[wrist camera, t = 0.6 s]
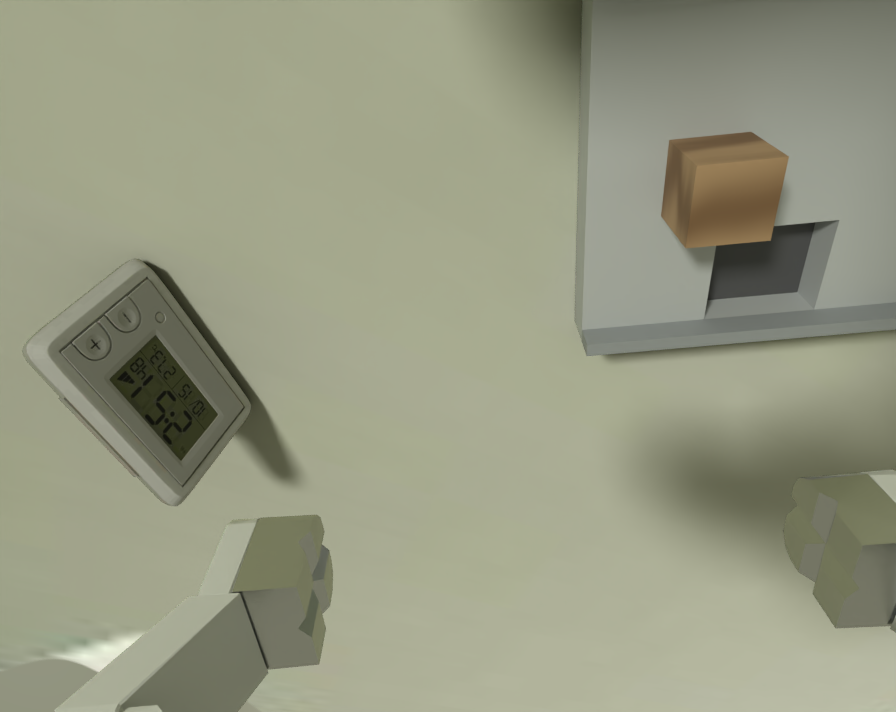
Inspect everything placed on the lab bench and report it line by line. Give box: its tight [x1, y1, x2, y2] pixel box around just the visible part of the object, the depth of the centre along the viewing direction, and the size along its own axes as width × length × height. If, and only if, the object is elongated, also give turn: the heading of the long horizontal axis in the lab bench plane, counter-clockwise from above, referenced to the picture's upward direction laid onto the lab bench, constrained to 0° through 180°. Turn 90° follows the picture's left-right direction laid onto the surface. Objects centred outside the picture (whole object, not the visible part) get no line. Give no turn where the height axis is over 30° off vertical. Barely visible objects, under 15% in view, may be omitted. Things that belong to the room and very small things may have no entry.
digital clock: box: [22, 259, 251, 506], centre depth 46 cm, size 16×9×11 cm, turn 10°
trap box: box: [575, 0, 896, 356], centre depth 39 cm, size 24×36×6 cm, turn 96°
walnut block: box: [661, 132, 789, 248], centre depth 37 cm, size 5×5×5 cm
